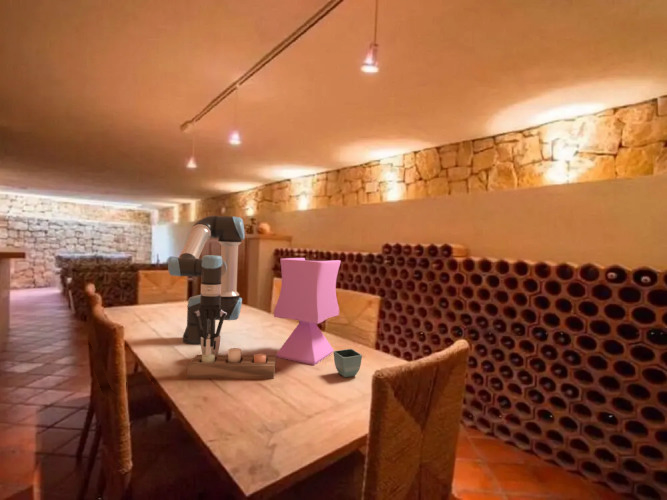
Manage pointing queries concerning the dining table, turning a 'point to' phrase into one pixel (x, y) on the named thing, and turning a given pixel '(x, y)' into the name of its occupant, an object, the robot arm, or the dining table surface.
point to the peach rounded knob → (234, 355)
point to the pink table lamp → (307, 307)
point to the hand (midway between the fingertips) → (208, 354)
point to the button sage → (208, 358)
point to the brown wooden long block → (232, 368)
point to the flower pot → (347, 362)
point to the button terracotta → (260, 358)
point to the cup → (215, 347)
